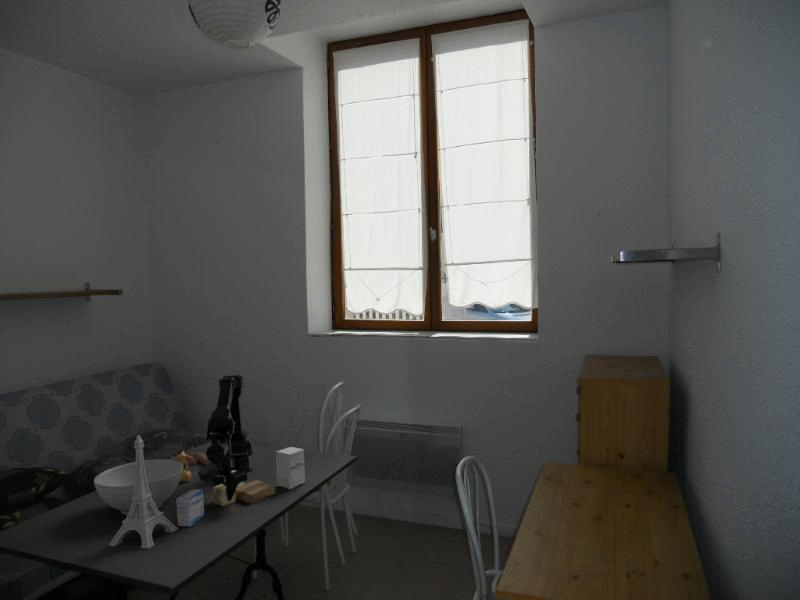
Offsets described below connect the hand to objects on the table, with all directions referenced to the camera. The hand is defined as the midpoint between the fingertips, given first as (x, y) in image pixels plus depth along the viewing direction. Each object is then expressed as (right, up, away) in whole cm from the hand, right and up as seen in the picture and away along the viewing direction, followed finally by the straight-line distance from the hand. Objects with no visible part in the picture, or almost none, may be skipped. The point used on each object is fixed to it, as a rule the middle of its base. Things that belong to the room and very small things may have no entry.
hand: (224, 499), depth 190 cm
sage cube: (-1, -1, +15) cm, 15 cm away
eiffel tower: (-16, -3, -24) cm, 29 cm away
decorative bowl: (-27, -2, -2) cm, 27 cm away
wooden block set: (-20, -1, +42) cm, 46 cm away
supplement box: (+20, 0, +14) cm, 24 cm away
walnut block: (+9, -1, +5) cm, 10 cm away
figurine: (-21, -1, +21) cm, 30 cm away
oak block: (0, -1, 0) cm, 1 cm away
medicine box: (-6, -2, -14) cm, 16 cm away
